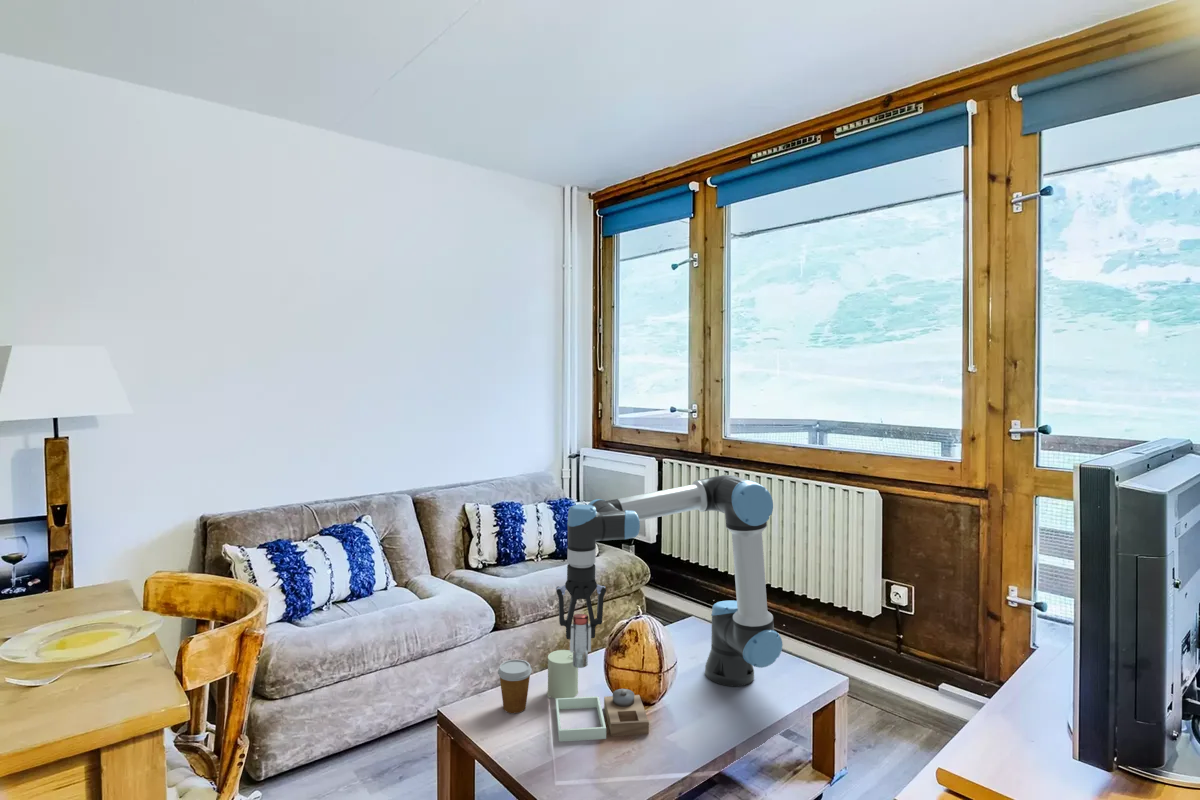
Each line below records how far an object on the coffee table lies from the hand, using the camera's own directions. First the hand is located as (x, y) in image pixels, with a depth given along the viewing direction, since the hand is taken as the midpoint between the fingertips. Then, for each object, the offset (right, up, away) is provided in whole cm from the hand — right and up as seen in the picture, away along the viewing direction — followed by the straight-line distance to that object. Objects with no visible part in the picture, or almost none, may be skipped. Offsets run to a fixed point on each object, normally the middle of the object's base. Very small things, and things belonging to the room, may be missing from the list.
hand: (580, 649), depth 173 cm
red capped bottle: (0, -4, 0) cm, 4 cm away
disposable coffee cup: (-19, -20, +10) cm, 30 cm away
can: (-6, -20, +18) cm, 27 cm away
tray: (0, -21, +1) cm, 21 cm away
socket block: (+12, -21, +3) cm, 24 cm away
